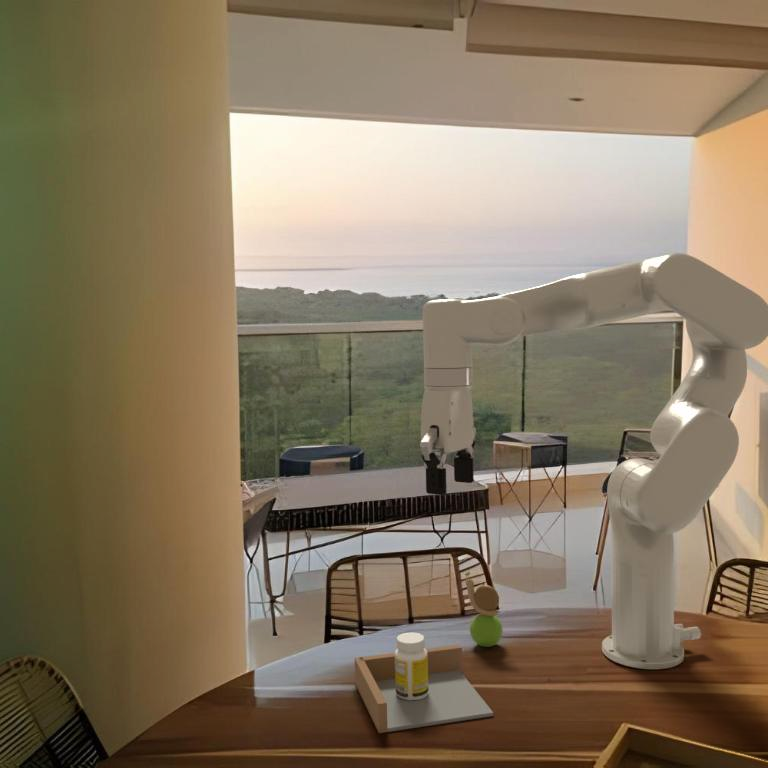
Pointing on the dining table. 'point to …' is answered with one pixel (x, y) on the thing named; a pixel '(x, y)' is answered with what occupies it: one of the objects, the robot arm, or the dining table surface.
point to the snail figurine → (484, 614)
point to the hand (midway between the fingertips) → (450, 487)
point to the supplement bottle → (411, 667)
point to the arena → (441, 705)
